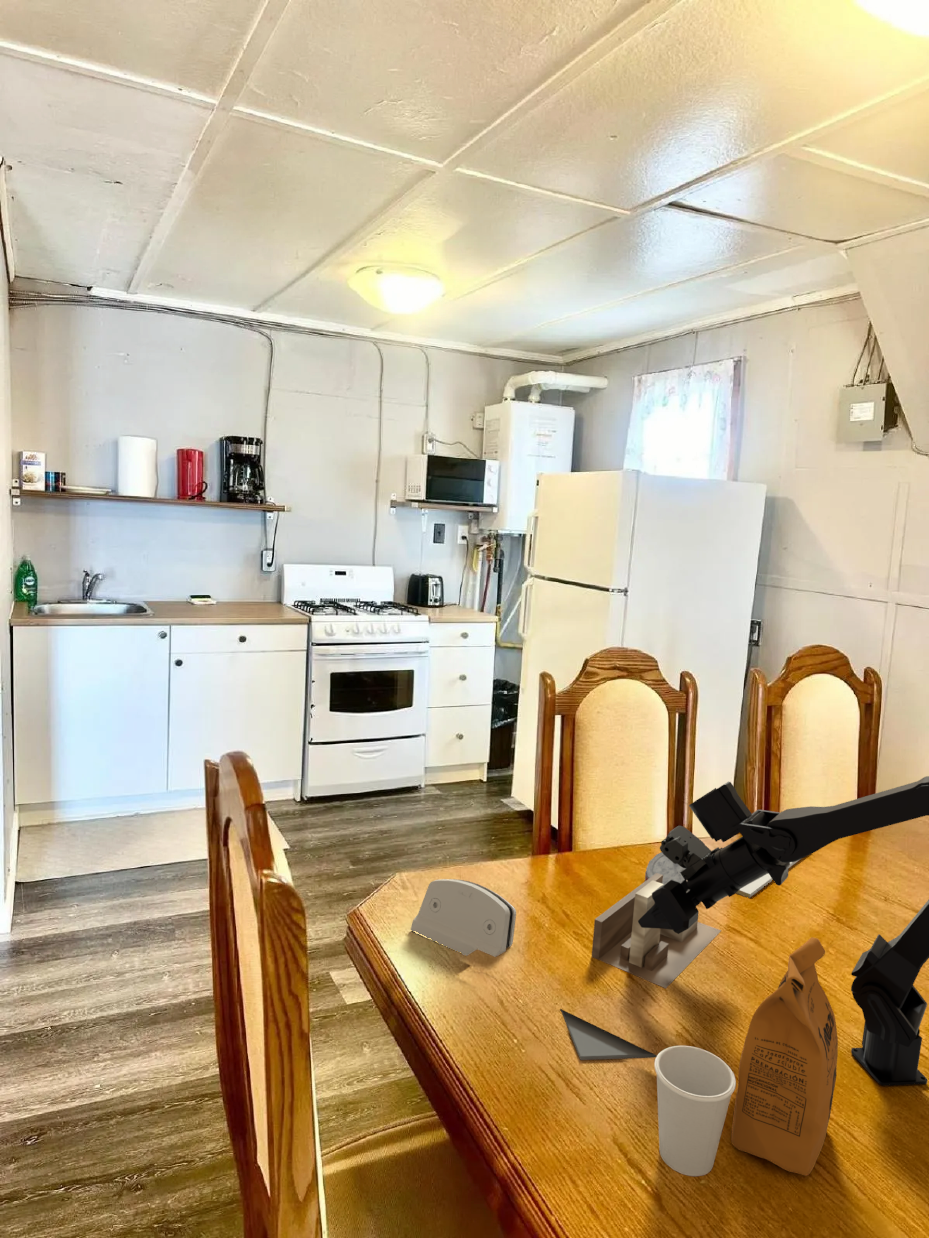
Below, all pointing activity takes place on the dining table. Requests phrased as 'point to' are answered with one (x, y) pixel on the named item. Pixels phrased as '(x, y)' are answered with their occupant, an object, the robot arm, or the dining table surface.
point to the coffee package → (788, 1069)
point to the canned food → (664, 869)
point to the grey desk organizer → (662, 959)
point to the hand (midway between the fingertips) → (653, 912)
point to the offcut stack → (681, 935)
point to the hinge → (466, 917)
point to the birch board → (641, 937)
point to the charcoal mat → (600, 1041)
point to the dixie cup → (691, 1107)
